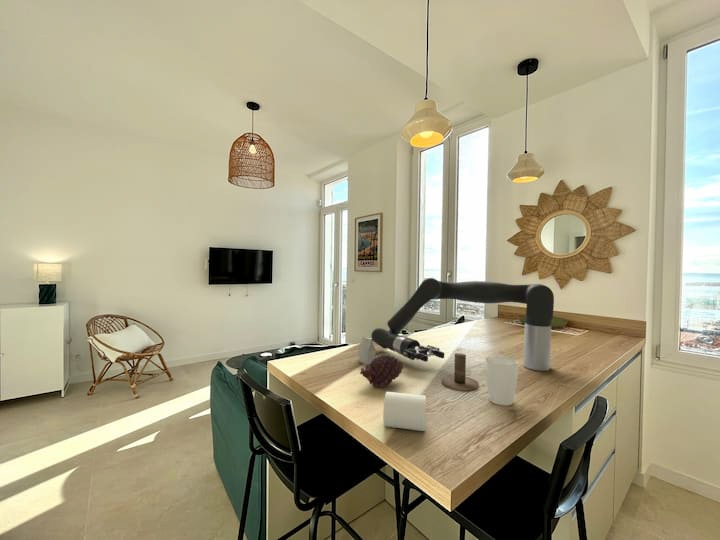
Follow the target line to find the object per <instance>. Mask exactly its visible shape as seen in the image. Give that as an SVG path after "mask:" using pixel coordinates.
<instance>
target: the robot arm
mask: <svg viewBox="0 0 720 540" xmlns="http://www.w3.org/2000/svg"><path fill="white" fill-rule="evenodd" d="M450 299H451V300H457V301H463V302H469V303H474V304H475V303H476V304H477V303H479V304H501V303H503V304H504V303H517V304H526V310H525V317H524V330H523V331H524V334H523V339H524V340H523V358H522V359H523V363H522V365H523V366H524V368H526V369H530V370H534V371H539V372H546V371H550V370H551V369H550V368H551V353H552V351H551V349H552V348H551V347H552V345H551V344H552V343H551V342H552V341H551V340H552V321H553V319H554V306H555V300H554V299H555V294H554V292H553V291H552V289H551V288H550V287H549V286H547V285H544V284H541V283H531V284H510V283H509V284H507V283H501V282H497V281H496V282H494V281H487V280H486V281H482V280H469V281H461V282H449V281H441V280H438V279H436V278H433V277H428V278H424V279H423V280H422V281H421V284H420V285H418V288H417V289H416V290H415V292H414V293H413V294H412V296H411V297H410V298H409V299H408V300H407V302H406V303H405V304H404V305H403V306H401V308H399V309H398V310H397V312H395V313H394V315H393V316H391V318H390V319H389V320H388V321H387V322H386V323H387V324H386V325H387V327H388V328H389V330H387V329H385V328H383V327H377V328H375V329H373V331H372V332H371V335H370V336H371V340H372V341H373V342H374V343H375V344H377V345H378V346H379V347H381V348H382V349H388V350H390V351H393V352H396V353H397V354H399V355H400V356H403V357H405V358H407V359H409V360H410V361H411V360H412V361H414V360H420V361H422V362H425V363H427V362H428V361H429V357H431V356H432V357H437V358H440V359H445V352H443V351H440V350H441V349H440V347H436V346H432V345H429V344H427V345H421V343H420V342H419V341H418V340H417V339H413V338H411V337H407V336H403V335H399V334H400V332H401V331H402V330H404V328H405V327H406V326H407V325H408V324H409V323H410V322H411V321H412V320H413V318H414V317H415V315H417V313H418V312H419V311H420V310H421V308H422V307H423V306H425V305H426V304H427V303H429V302H430V301H432V300H450Z"/></svg>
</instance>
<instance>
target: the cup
mask: <svg viewBox="0 0 720 540" xmlns="http://www.w3.org/2000/svg"><path fill="white" fill-rule="evenodd" d="M484 371H485V379H486V388H487V395H488V396H487V397H488V400H489V401H490V402H491V403H493V404H496V405H498V406H503V407H504V406H506V407H507V406H511V405H513V403H514V400H515V393H516V389H517V383H518V378H519V363H518V361H517V360H514V359H512V358H509V357H503V356H488V357H486V359H485V367H484Z"/></svg>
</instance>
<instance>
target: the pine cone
mask: <svg viewBox="0 0 720 540" xmlns="http://www.w3.org/2000/svg"><path fill="white" fill-rule="evenodd" d="M404 367H405V366H404V363H402V362H401V361H399V359H398V358H396V357H395V356H394V355H393V356H392V355H389V354H388V355H383V354H382V355H380V356H379V355H378V356H375V358H374V359H373V361H372V362H371V364H366V365H365V367H362V368H360V372H359V374H360V375H362V377H364V378H365V379H367V381H368V382H369V384H370V385H373V386H374V387H377V388H383V387H384V386H388V385H389V384H391V383H392V382H393V380H395V379H396V378H399V376H400V374H401V373H403V372H402V371H403V369H404Z"/></svg>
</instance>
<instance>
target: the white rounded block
mask: <svg viewBox="0 0 720 540" xmlns="http://www.w3.org/2000/svg"><path fill="white" fill-rule="evenodd" d="M382 417H383V418H382V419H383V423H382V424H383V426H384V427H387V428H395V429H396V428H397V429H402V430H403V429H404V430H410V431H411V430H412V431H419V432H420V431H421V432H426V430H427V429H426V428H427V427H426V425H427V395H425V394H424V395H422V394H412V393H402V392H393V391H386V392H385V393H384V401H383V415H382Z"/></svg>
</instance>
